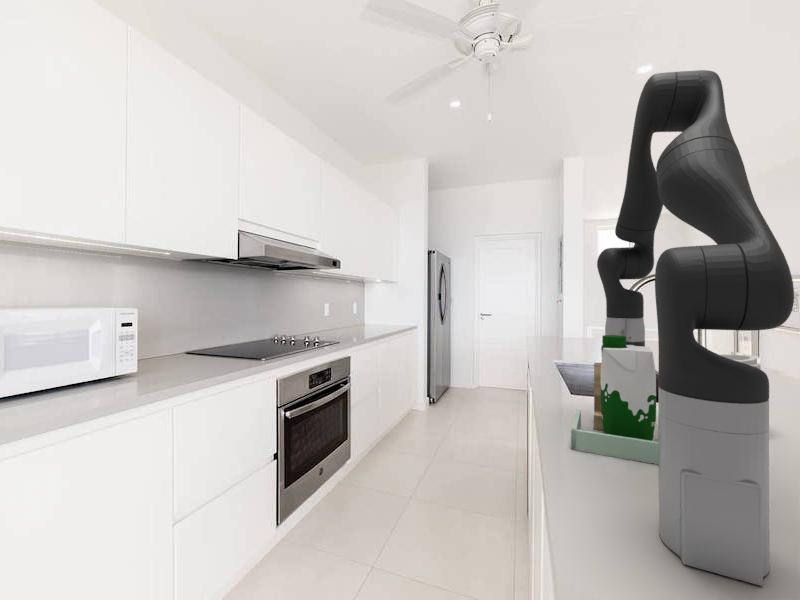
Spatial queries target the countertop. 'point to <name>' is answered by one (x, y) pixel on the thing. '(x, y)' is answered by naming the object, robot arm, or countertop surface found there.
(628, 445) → the tray
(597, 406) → the brown box
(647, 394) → the soya milk
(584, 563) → the countertop surface
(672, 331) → the robot arm
